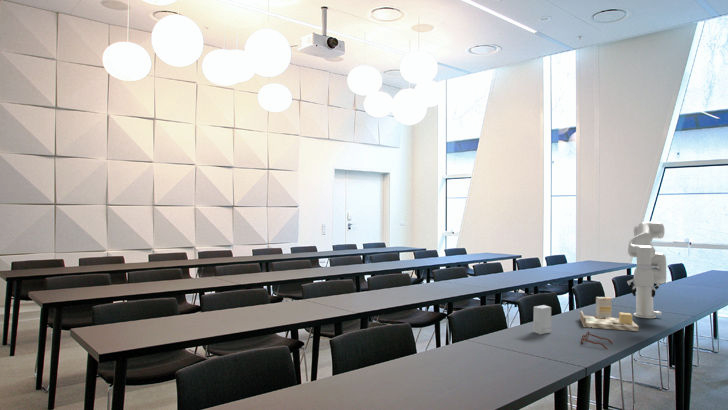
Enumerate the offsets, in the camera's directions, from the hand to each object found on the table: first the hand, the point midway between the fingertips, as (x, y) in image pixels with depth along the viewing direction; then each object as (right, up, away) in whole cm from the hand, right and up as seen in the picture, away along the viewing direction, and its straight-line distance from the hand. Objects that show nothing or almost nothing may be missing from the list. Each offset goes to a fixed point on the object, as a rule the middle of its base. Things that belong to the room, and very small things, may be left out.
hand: (643, 296), depth 287 cm
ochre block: (-9, -16, +3) cm, 19 cm away
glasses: (-44, -19, -34) cm, 59 cm away
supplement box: (-11, -19, +25) cm, 33 cm away
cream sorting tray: (-18, -18, +6) cm, 26 cm away
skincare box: (-65, -18, -13) cm, 68 cm away
